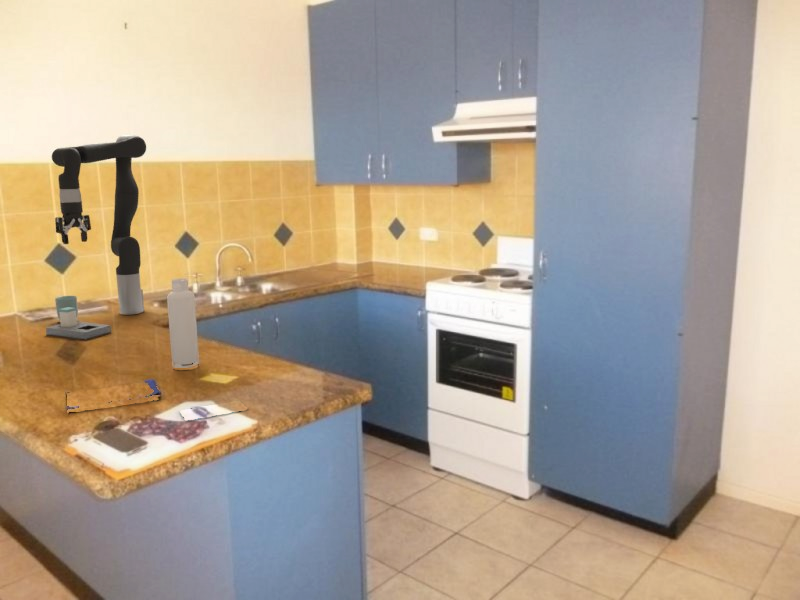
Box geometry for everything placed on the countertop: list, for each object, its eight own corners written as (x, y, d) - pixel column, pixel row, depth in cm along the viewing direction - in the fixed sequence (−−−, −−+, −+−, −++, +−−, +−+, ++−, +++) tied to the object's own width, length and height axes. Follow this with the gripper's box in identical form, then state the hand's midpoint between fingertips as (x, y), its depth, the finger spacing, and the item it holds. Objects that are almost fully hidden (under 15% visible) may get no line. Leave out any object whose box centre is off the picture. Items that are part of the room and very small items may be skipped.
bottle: (204, 364, 214) (198, 278, 209) (188, 372, 207) (182, 282, 201) (183, 362, 217) (176, 276, 211) (167, 369, 209) (159, 281, 204)
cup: (70, 323, 271) (67, 299, 269) (53, 323, 273) (50, 298, 271) (83, 319, 279) (80, 295, 277) (66, 318, 280) (64, 295, 278)
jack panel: (73, 328, 264) (72, 320, 263) (111, 332, 256) (110, 325, 255) (46, 335, 253) (45, 327, 252) (85, 340, 245) (84, 332, 244)
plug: (70, 329, 259) (67, 307, 257) (77, 330, 257) (75, 307, 256) (61, 332, 255) (58, 309, 254) (69, 333, 254) (66, 309, 252)
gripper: (79, 199, 266) (83, 240, 270) (47, 201, 254) (52, 244, 257) (93, 200, 263) (97, 241, 267) (62, 202, 251) (66, 245, 254)
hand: (75, 242), depth 262 cm, fingers open, 8 cm apart
